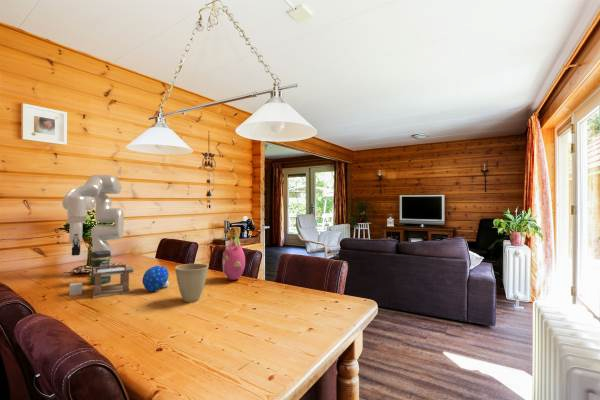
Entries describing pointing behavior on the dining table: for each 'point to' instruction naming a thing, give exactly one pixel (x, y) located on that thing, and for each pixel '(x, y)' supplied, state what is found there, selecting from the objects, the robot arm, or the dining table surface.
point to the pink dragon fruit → (233, 259)
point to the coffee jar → (100, 264)
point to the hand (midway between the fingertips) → (76, 254)
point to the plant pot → (191, 280)
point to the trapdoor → (115, 270)
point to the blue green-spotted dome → (155, 278)
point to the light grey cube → (75, 288)
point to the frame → (111, 289)
